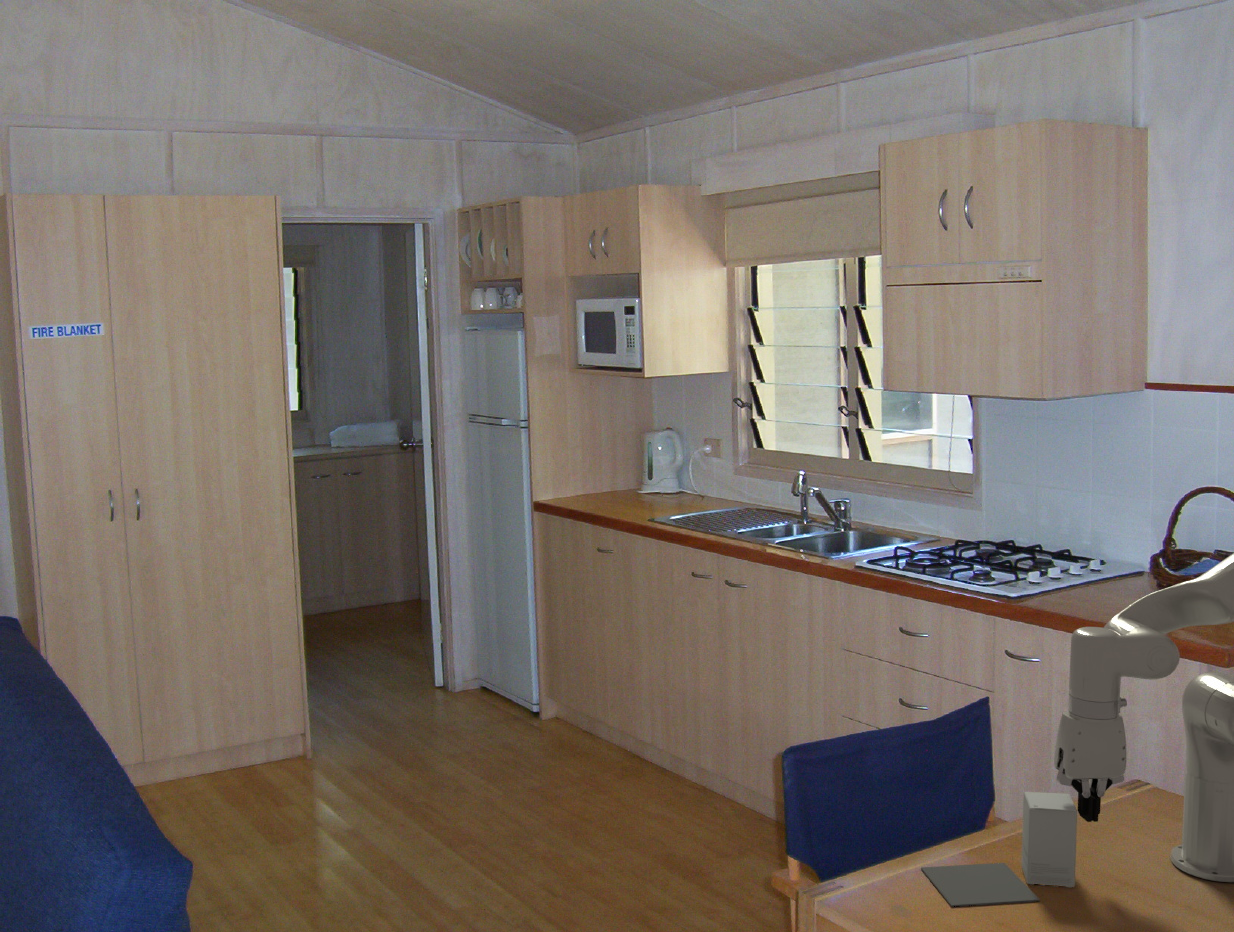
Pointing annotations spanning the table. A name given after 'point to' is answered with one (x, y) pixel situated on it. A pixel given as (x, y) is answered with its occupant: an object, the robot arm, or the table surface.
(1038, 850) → the supplement box
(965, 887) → the mat
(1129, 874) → the table surface
